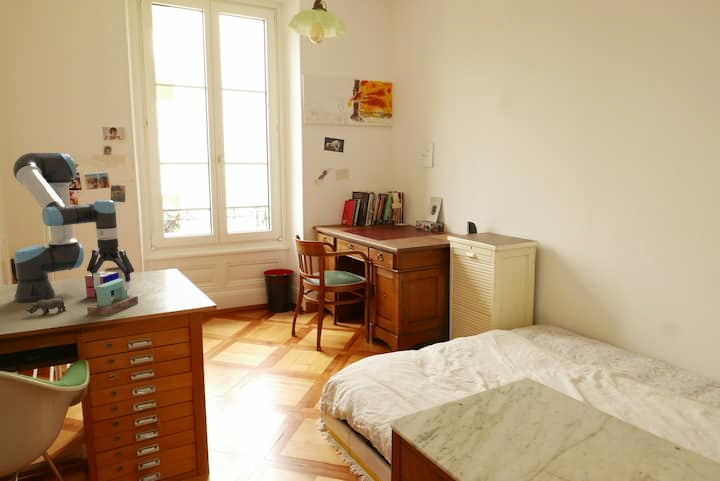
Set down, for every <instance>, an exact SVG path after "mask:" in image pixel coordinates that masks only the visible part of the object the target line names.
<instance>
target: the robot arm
mask: <svg viewBox="0 0 720 481" xmlns="http://www.w3.org/2000/svg"><path fill="white" fill-rule="evenodd" d="M12 172H13V176H14V177H15V179H16V180H17V182H18V183H19V184H21V185H23V186H24V187H25V188H26V189H27V190H28V192H29V193H30V194H31V196H32V197H33V199H34V200H35V201H36V202H37V204H38V205H39V206H40V208H41V209H42V211H41V218H42V222H43V224H44V225H45V226H47V227H50V234H51V239H50V240H49V241H48V247H46V246H45V245H44V244H37V245H30V246H26V247H22V248H19V249H18V250H16V251H15V252H14V265H15V271H16V280H17V285H16V290H15V294H14V302H16V303H23V304H24V303H25V304H26V303H27V304H28V303H36V302H38V301H39V300H51V299H54V297H56V291H55V290H54V288H53V286H52V283H51V281H50V279H49V274H51V273H57V272H61V271H62V272H63V271H72V270H74V269H78V268H80V267H81V266H82V264H83V263H84V260H85V252H84V249H83V248H84V247H83V245H82V244H81V243H78V240H77V239H76V238H75V237H74V230H73V225H79V224H80V225H81V224H91V223H95V228H96V230H95V231H96V238H97V241H96V242H97V248H96V249H92V250H91V256H90V259H89V262H88V266H87V268H86V271H87V272H89V273H91V274H92V280H94V289H95V287H96V286H99V285H100V275H99V272H100V271H99V270H100V268H101V267H102V265H103V264H104V262H107V261H108V262H112V263H114V264H115V265H116V267H119V268H120V269H121V271H122V272H123V275H122V276H123V287H124V290H127V291H128V290H130V282H131V274H133V273H134V272H135V269H134V267H133V265H132V263H131V262H130V259H129V257H128V256H127V252H126V249H122V250H119V239H118V235H119V233H118V226H117V225H118V224H117V210H116V204H115V202H114V200H111V199H102V200H100V199H99V200H95V201H94V202H93V203H86V204H78V205H71V198H70V189H69V188H70V186H71V184H72V183H73V181H72V180H73V179H75V178H76V177H77V166H76V163H75V161H74V159H73V157H72V156H71V155H70V154H68V153H62V152H29V153H25V154H22V155H21V156H20V157H18V158H17V159H16V160H15V161H14V164H13V168H12Z"/></svg>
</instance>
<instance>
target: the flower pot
mask: <svg viewBox="0 0 720 481" xmlns="http://www.w3.org/2000/svg"><path fill="white" fill-rule="evenodd" d="M102 272H118V274H119V279H123V276H122V275H123V274H124V273H123V272H122V271H121V269H120V268H119V267H118V266H111V267H106V268H104V269H103V271H102Z"/></svg>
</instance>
